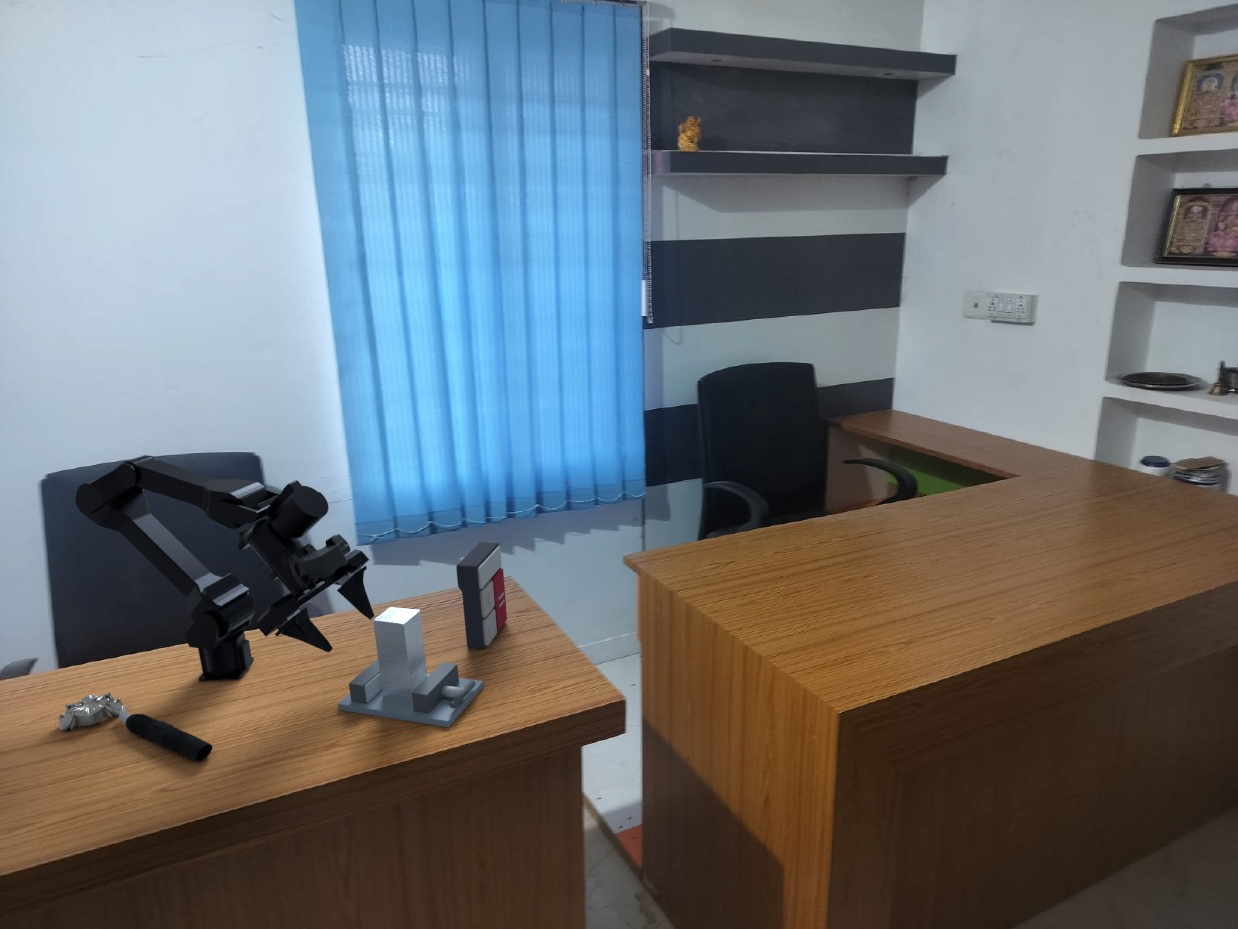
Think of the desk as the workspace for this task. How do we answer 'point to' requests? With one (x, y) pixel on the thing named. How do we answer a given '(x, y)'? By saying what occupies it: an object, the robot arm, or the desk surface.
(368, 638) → the desk surface
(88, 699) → the ornament
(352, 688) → the vise
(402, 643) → the steel block
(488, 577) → the calculator
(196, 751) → the utility knife
